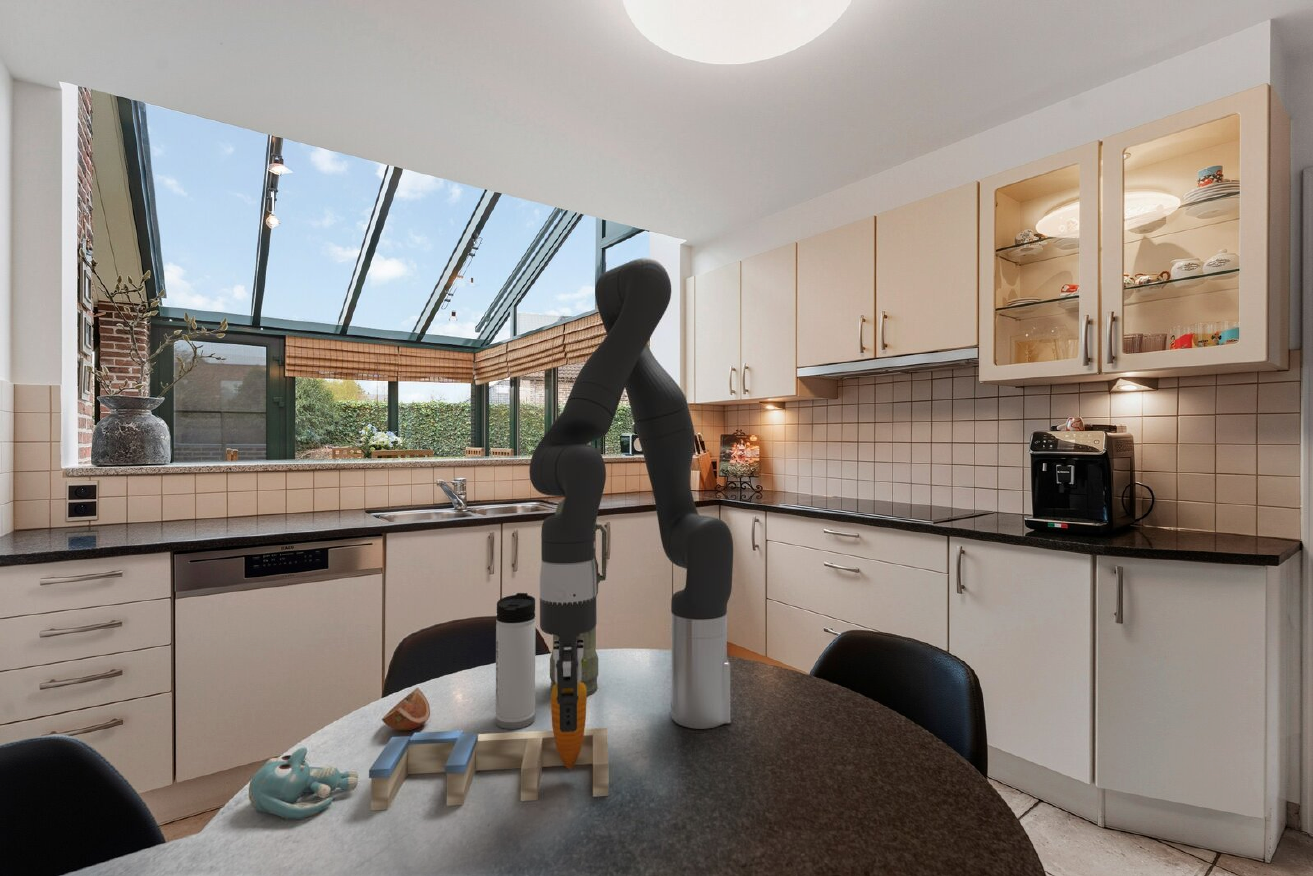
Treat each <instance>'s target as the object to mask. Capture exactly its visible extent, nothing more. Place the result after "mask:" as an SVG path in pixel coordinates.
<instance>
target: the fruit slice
mask: <svg viewBox="0 0 1313 876" xmlns="http://www.w3.org/2000/svg"><path fill="white" fill-rule="evenodd" d="M430 716H431V708H430V703H429V701H428V699H427V698H426V696H425V695H424V693H423V691H422V690H421V689H419V687H416V688H415V689H413V691H411V692H410V693H409V694H408V695H406V696H405V697H404V698H403V699H401V700H400V701H399V702H398V703H397V704H396V705H394V706H393V707H392V708H391V709H390V710H389V711H388V712H387V713H386V714H385V715H384V716H383V717H382V719H381V721H382V722H383V723H384V724H385V725H386V726H388V727H389V728H391V729H393V730H396V731H411V730H414V729H417V728H420V727H421V726H422V725H423V724H425V723H426V722H427V721H428V720H429V719H430Z"/></svg>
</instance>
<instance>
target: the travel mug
mask: <svg viewBox="0 0 1313 876" xmlns="http://www.w3.org/2000/svg"><path fill="white" fill-rule="evenodd" d="M495 629H496V631H495V724H496V726H498V727H499V728H502V729H506V730H518V729H523V728H526V727H528V726H529V725H531V724H533V723H534V721H535V719H536V598H535V597H534V596H532V595H528V592H517V593H516V594H513V595H508V596H507V595H506V596H504V597H502V598H500V599H498V601H497V602H496V625H495Z"/></svg>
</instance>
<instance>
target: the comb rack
mask: <svg viewBox="0 0 1313 876" xmlns="http://www.w3.org/2000/svg"><path fill="white" fill-rule="evenodd" d="M608 742H609V741H608V728H607V727H598V728H597V727H596V728H585V729H584V736H583V741H582V747H581V750H580V753H579V756H578V758H577V760H576V762H575V764H574V766H576V765H577V766H578V765H579V766H581V765H592V797H594V798H595V797H609V796H610V795H609V794H610V793H609V789H610V786H609V785H610V781H609V780H610V777H609V775H610V774H609V773H610V772H609V771H610V770H609V769H610V767H609V766H610V764H609V763H610V762H609V761H610V760H609V745H608V744H609V743H608ZM560 766H561V767H562V766H564V767H565V765H564V763H563V761H562V760H561V758H560V756H559V753H558V750H557V748H556V743H555V739H554V733H553V730H536V731H516V732H515V731H514V732H499V733H497V732H496V733H495V732H494V733H478V732H470V733H468V732H467V733H464V730H462V729H461V730H442V731H422V732H414V733H413V734H412V736H409V735H408V736H407V735H405V736H392V737H391V738H390V739H389V741H388V742H387V744H386V745H385V747H384V748H383V750H382V751H381V752H380V753H379V755H378V756H377V758H376V759H375V761H374V762H373V763H372V765H371V766H370V768H369V769H368V779H371V780H370V794H371V795H370V811H380V810H389V808H390V806H392V803H393V802H394V799H395V797H397V794H398V793H399V791H400V790H401V787H402V786H403V783H404V781H405V780H406V779H407V776H408V775H417V774H418V775H419V774H437V773H439V774H440V773H444V775H446V806H447V807H449V806H461V805H462V806H463V805H464V804H465V801H466V799H467V796H468V792H469V790H470V788H471V785H472V782H473V779H474V777H475V775H476V771H488V770H492V771H493V770H507V769H520V802H529V801H530V802H531V801H537V800H538V797H539V790H540V782H541V777H542V770H543V767H560Z"/></svg>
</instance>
